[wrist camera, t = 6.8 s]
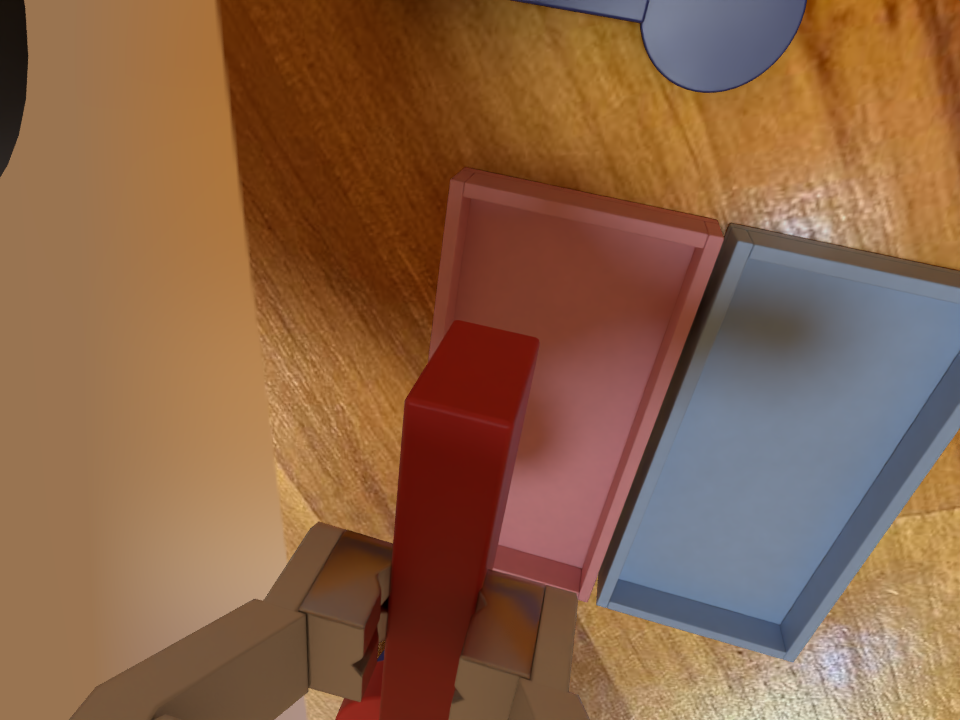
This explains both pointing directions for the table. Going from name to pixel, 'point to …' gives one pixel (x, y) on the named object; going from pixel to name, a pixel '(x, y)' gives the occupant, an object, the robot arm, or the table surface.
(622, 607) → the blue tray
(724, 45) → the blue spoon
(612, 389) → the pink tray
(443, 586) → the red spoon
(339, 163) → the table surface
